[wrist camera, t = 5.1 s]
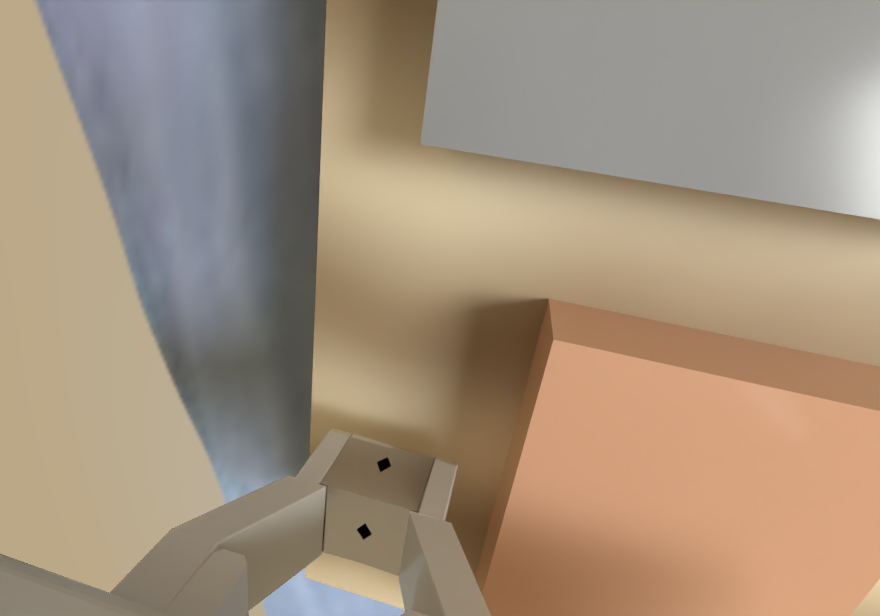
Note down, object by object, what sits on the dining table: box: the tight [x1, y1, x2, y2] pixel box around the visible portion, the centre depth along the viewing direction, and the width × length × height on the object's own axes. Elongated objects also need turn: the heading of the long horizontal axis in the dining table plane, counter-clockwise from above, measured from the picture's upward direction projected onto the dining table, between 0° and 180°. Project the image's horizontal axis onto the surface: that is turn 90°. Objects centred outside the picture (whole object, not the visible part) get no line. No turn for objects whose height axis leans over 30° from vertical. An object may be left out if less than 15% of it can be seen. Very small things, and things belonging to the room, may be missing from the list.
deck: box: [305, 0, 880, 616], centre depth 10 cm, size 20×14×4 cm
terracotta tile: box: [475, 299, 880, 616], centre depth 9 cm, size 9×6×2 cm, turn 171°
